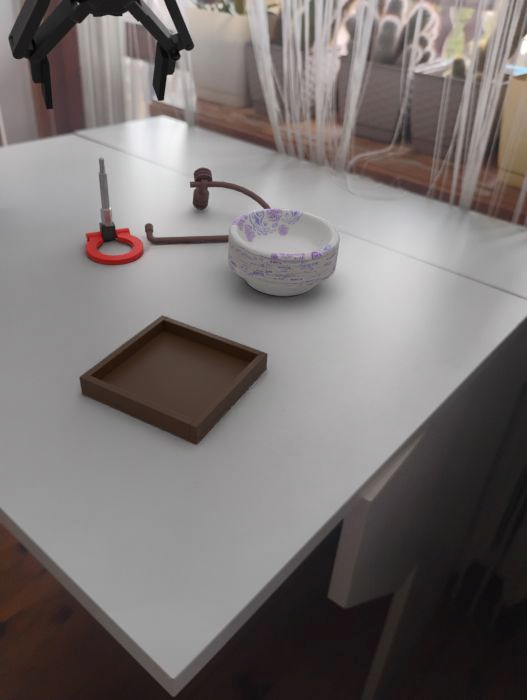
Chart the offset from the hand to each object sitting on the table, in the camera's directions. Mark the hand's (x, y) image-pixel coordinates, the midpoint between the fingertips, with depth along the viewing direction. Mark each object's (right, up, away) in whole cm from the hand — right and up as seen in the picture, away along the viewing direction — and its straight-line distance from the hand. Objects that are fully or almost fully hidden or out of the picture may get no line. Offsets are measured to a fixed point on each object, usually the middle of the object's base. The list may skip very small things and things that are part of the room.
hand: (104, 96), depth 77 cm
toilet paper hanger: (+11, -10, +27) cm, 31 cm away
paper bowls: (+22, -21, +13) cm, 33 cm away
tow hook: (-3, -16, +17) cm, 24 cm away
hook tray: (+10, -35, -8) cm, 37 cm away
